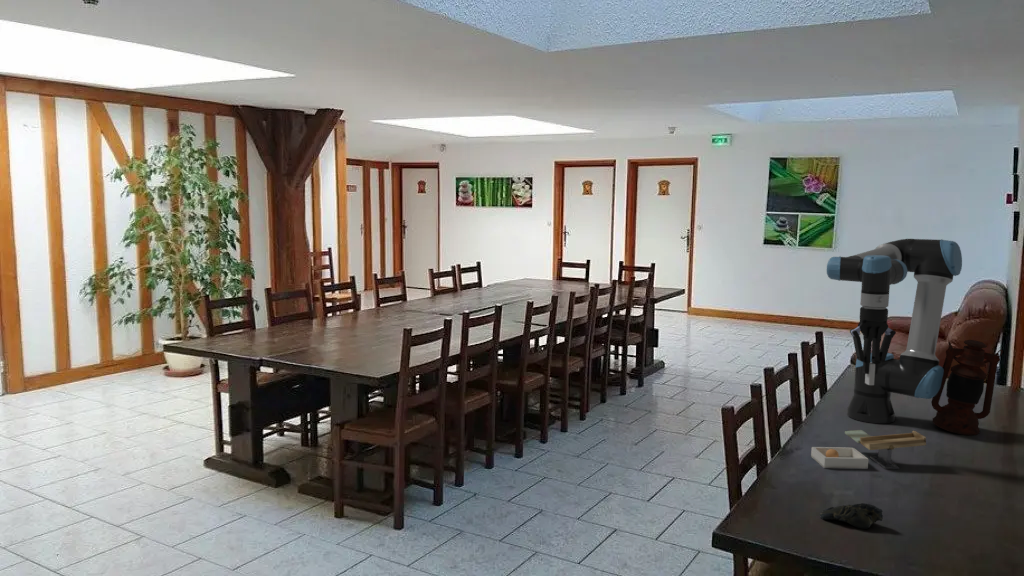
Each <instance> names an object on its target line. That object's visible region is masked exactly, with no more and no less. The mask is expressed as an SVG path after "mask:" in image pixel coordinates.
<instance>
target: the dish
mask: <svg viewBox="0 0 1024 576" xmlns="http://www.w3.org/2000/svg"><path fill="white" fill-rule="evenodd" d="M829 449H834V450H836V451H837V452H838V454H839V457H826V452H827V450H829ZM810 457H811V458H812V459H813V460H814V461H816V462H817V464H819V465H820V466H821V467H822V468H824V469H844V470H845V469H846V470H847V469H851V470H853V469H856V470H857V469H859V470H868V469H869V458H868V457H866V456H865V455H864V454H862V452H860V451H859V450H857V449H856V448H855V447H844V446H843V447H836V446H835V447H834V446H832V447H831V446H827V447H826V446H811V452H810Z"/></svg>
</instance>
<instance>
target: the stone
mask: <svg viewBox="0 0 1024 576" xmlns="http://www.w3.org/2000/svg"><path fill="white" fill-rule="evenodd" d="M819 517H820V519H821V520H825V521H828V520H829V521H830V520H831V521H840V522H844V523H848V524H849V525H851V526H853V527H855V528H856V529H860V530H868V529H870V528H871V525H872V524H874V523H877V522H879V521H880V522H882V521H883V517H884V516H883V510H882V509H881V508H879V507H877V506H875V505H873V504H869V503H854V504H846V505H844V504H843V505H839V506H835V507H834V506H832V507H828V508H826V509H824V510H822V511H820V513H819Z"/></svg>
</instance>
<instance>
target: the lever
mask: <svg viewBox="0 0 1024 576" xmlns="http://www.w3.org/2000/svg"><path fill="white" fill-rule="evenodd" d="M844 435H846V436H847V437H849V438H850V439H852V440H853V441H854V442H855V443H857V444H861V445H862V446H863V447H864V448H866V449H867V450H869V451H874V450H877V451H879V449H889V448H890V449H891V450H894V449H897V448H898V449H899V448H910V447H921V446H927V437H926V436H924V435H922V433H920V432H918V431H916V430H912V431H911V432H906V433H904V432H903V433H895V434H885V435H884V434H883V435H873V436H872V435H870V434H868V433H867V432H866V431H864V430H862V429H856V430H845V431H844Z"/></svg>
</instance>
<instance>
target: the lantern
mask: <svg viewBox="0 0 1024 576" xmlns="http://www.w3.org/2000/svg"><path fill="white" fill-rule="evenodd" d="M963 344H965V345H964V346H963V348H956V347H954V348H953V346H952V343H951V341H948V344H947V345H948V347H947V349H946V350H945V359H944V362H943V365H942V367H943V369H944V373H943V378H942V383H941V387H940V389H939V391H938V393H937V394H936V395H935V396H934V397H933V398H931V406H932V408H933V409H934V410H935V411H936V414H935V416H934V417H932V423H933V424H934V425H935V426H937V427H938V428H940V429H942V430H945V431H947V432H950V433H952V434H953V433H954V434H958V435H963V436H976V435H978V434H980V427H979V425H980V423H979V422H980V421H979V420H982V419H986V417H988V416H989V414H990V413H991V408H992V401H993V394H994V388H995V381H996V376H997V370H998V364H999V363H1000V361H1001V356H1002V355H1003V352H1004V351H1003V349H999V350H998V351H997V352H995V353H990V352H985V349H986V348H987V347H988V345H987V344H986V343H984V342H982V341H979V340H974V339H966V340H964V341H963ZM999 353H1000V354H999ZM953 360H954V361H956V362H957V363H958V364H954V365H953V366H952V363H953ZM987 363H989V367H988V371H987V372H988V374H987V373H986V372H985V371H984V370H983V369H982V368H984V367H987ZM949 372H950V374H949ZM947 378H948V379H947ZM986 379H987V381H986V386H985V380H986ZM945 384H946V395H945V396H946V398H947V403H946V404H945V405H943V406H941V404H940V401H941V396H942V393H943V391H944V388H945ZM984 388H985V393H984ZM983 393H984V398H983V405H982V406H983V407H982V410H981V411H980V412H975V411H974V409H975V407H976V405H978V404H979V402H980V400H981V397H982V396H983Z"/></svg>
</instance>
